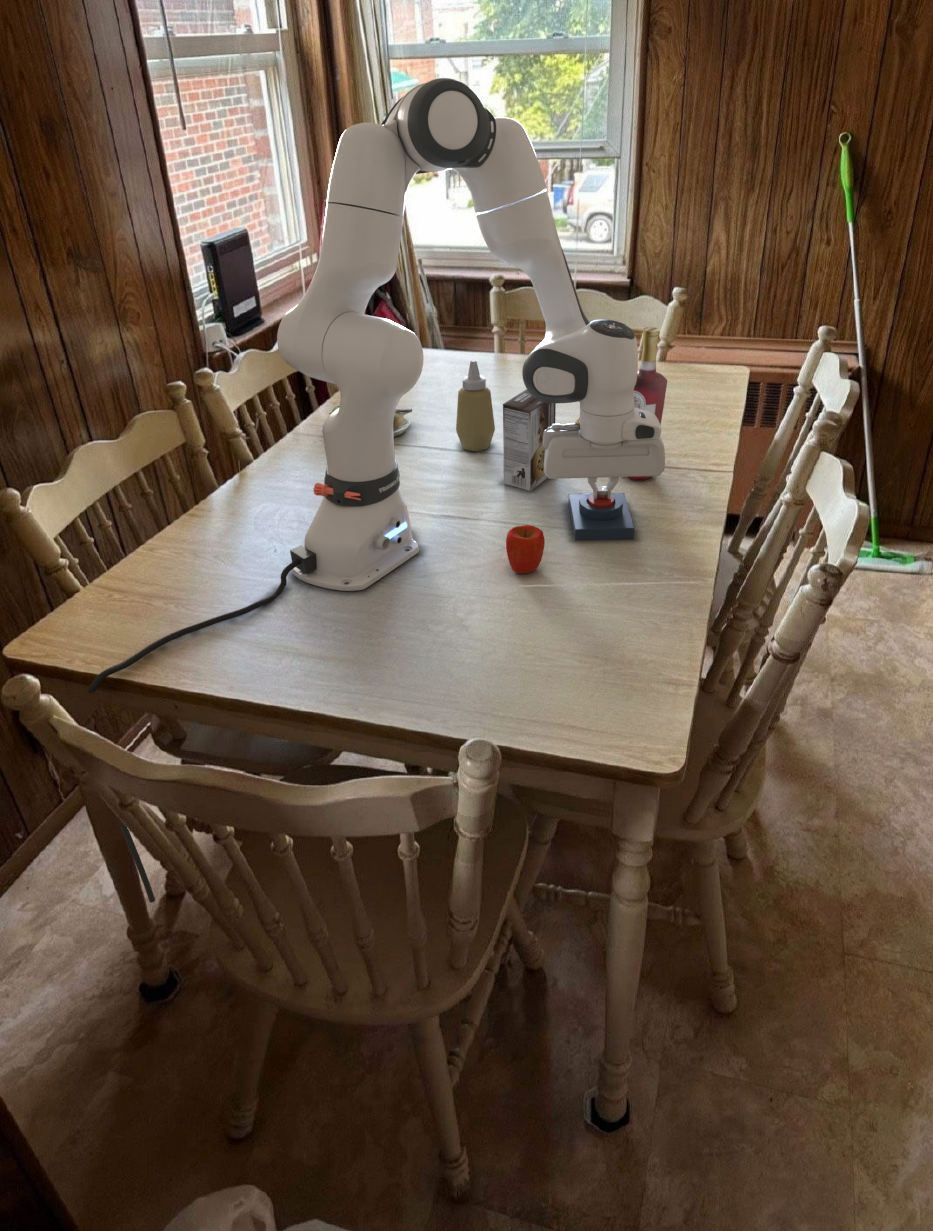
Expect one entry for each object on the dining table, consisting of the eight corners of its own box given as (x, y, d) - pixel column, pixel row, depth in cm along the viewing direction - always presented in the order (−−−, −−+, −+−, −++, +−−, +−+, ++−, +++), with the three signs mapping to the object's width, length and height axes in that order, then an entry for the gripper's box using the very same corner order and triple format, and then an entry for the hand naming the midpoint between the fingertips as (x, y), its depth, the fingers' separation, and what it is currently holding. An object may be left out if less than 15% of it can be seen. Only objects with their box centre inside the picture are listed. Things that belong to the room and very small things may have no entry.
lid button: (614, 515, 152) (615, 504, 151) (589, 515, 152) (589, 505, 151) (611, 503, 155) (612, 492, 154) (586, 503, 156) (587, 493, 154)
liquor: (664, 474, 169) (680, 327, 153) (644, 487, 165) (658, 338, 149) (632, 463, 174) (644, 320, 157) (611, 476, 169) (621, 330, 153)
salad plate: (398, 405, 203) (397, 386, 200) (430, 432, 190) (429, 411, 187) (318, 422, 196) (315, 402, 193) (346, 451, 183) (343, 430, 180)
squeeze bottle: (496, 438, 186) (495, 353, 176) (493, 454, 179) (492, 367, 169) (458, 437, 187) (455, 353, 176) (454, 453, 180) (450, 367, 170)
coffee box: (527, 466, 174) (527, 387, 165) (555, 473, 171) (557, 393, 162) (502, 483, 168) (501, 403, 159) (530, 491, 165) (531, 410, 156)
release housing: (633, 539, 150) (635, 518, 147) (574, 540, 150) (575, 520, 148) (623, 503, 160) (624, 483, 158) (568, 504, 161) (569, 485, 158)
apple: (528, 584, 139) (528, 544, 135) (497, 572, 142) (497, 531, 138) (551, 568, 143) (552, 527, 139) (521, 556, 146) (521, 516, 142)
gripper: (544, 432, 142) (542, 508, 150) (671, 428, 142) (663, 504, 150) (541, 417, 148) (540, 491, 156) (664, 413, 147) (656, 488, 155)
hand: (601, 497), depth 153 cm, fingers closed, pressing on lid button
